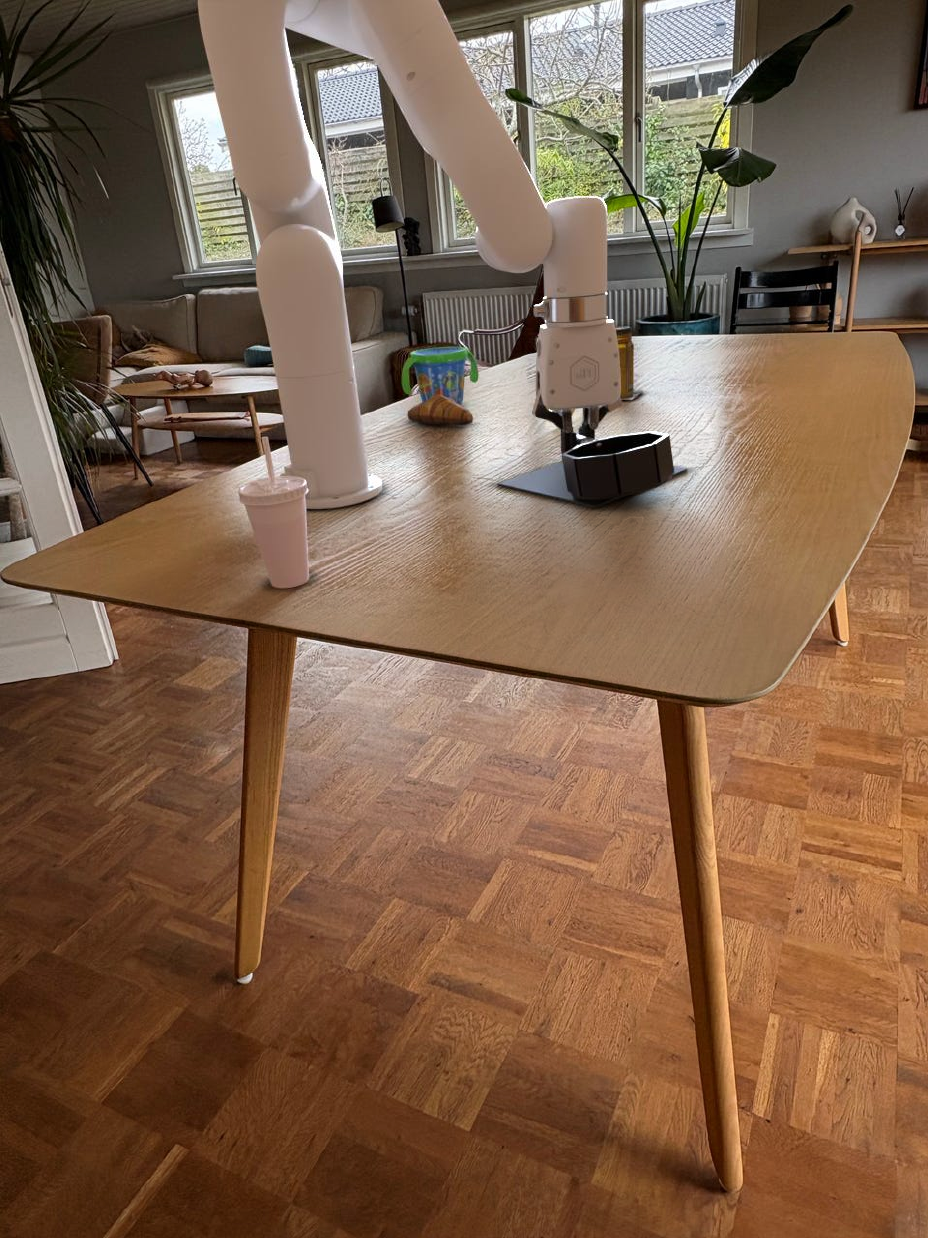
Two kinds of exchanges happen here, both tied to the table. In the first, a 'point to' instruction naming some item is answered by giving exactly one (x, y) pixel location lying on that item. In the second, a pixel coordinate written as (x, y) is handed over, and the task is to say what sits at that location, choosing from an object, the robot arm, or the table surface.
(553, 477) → the mat
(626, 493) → the black octagonal pot
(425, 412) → the croissant
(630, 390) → the condiment
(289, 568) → the smoothie
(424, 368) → the snack cup
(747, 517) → the table surface
